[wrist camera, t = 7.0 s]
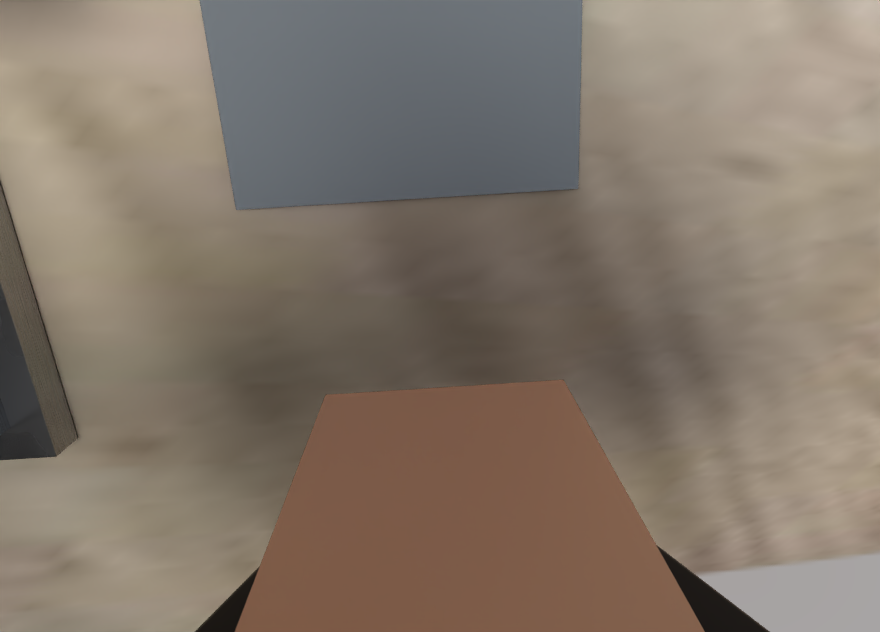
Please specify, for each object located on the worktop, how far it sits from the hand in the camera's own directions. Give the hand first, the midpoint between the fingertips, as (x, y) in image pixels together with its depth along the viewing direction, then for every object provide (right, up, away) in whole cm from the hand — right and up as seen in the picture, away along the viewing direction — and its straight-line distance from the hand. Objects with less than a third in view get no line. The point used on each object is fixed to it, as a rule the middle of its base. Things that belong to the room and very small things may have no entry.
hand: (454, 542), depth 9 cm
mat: (-1, +11, +5) cm, 12 cm away
